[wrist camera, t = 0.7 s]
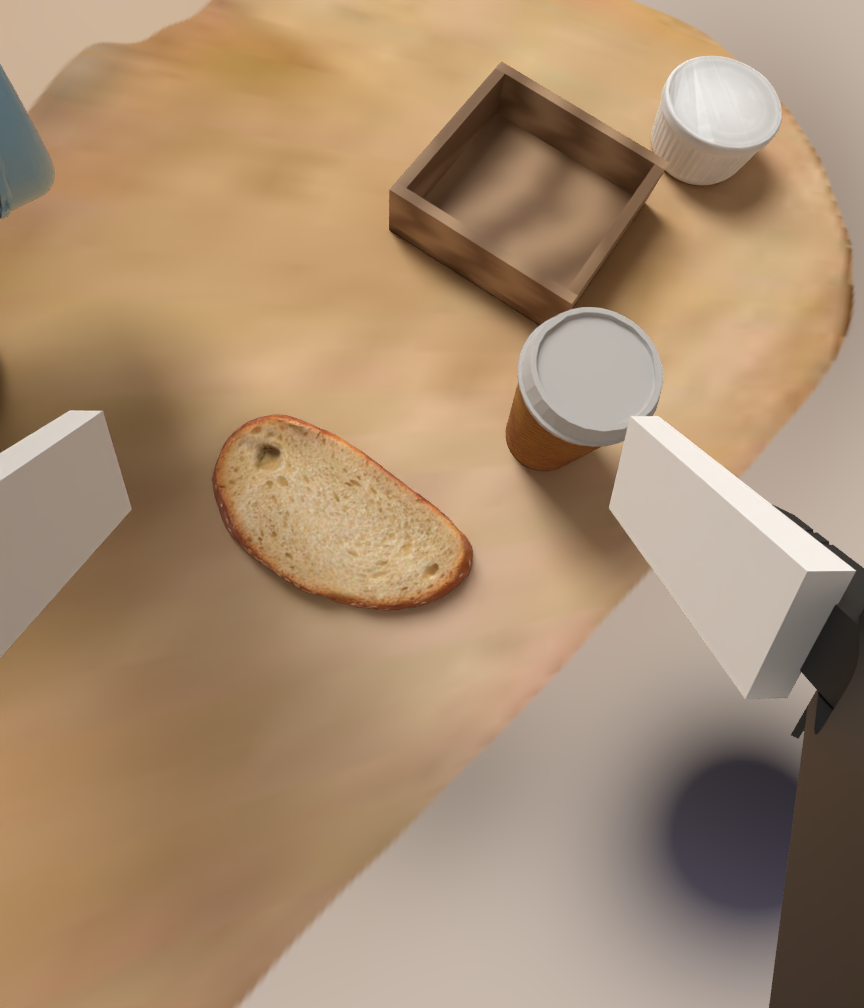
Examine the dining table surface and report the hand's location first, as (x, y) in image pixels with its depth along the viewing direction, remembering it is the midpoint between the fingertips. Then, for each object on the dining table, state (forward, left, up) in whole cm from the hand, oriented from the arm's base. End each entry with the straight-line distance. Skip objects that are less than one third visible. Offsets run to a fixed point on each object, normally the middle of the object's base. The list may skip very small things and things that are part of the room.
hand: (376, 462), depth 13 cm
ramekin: (+2, +53, -28) cm, 60 cm away
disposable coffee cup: (+5, +17, -28) cm, 33 cm away
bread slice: (-5, +2, -28) cm, 29 cm away
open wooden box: (-8, +35, -28) cm, 45 cm away
